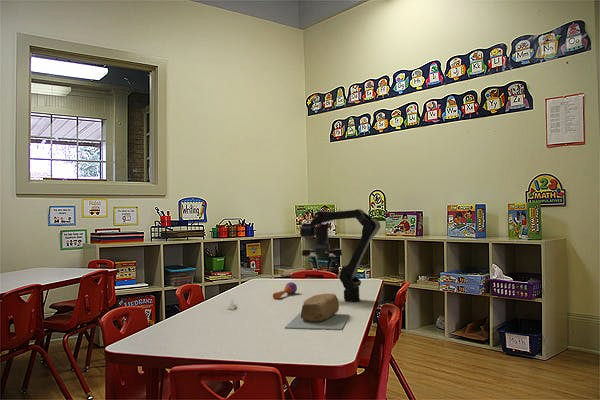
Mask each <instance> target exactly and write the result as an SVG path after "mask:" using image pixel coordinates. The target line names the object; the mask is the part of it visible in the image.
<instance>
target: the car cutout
mask: <svg viewBox="0 0 600 400" xmlns="http://www.w3.org/2000/svg"><path fill="white" fill-rule="evenodd" d="M235 308H238V304H236V303H235V301H234V298H231V299H230V302H229V306H227V307H226V309H227V310H235Z"/></svg>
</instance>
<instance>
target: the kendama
mask: <svg viewBox="0 0 600 400" xmlns="http://www.w3.org/2000/svg"><path fill="white" fill-rule="evenodd" d="M297 290H298V286H297V284H296V283H295V282H293V281H289V282H286V284H285V287H284V290H280V291H277V292H274V293H273V294H272V299H274V300H279V299H280V298H281V297H282V296H283V295H284V294H287V295H294V294H295V293H296V292H297Z"/></svg>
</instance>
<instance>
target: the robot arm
mask: <svg viewBox="0 0 600 400" xmlns="http://www.w3.org/2000/svg"><path fill="white" fill-rule="evenodd" d="M347 219H356V220H357V222H358V223H359V224H360V225H361V226H362V229H361V237H360V239H359V242H358V244H357V245H356V247H355V250H354V252H353V253H352V256H351V259H350V260H349V262H348V264H345V265H342V267H341V270H340V271H339V281H340V282H341V283H342V286H343V288H344V290H343V300H344V302H360V300H361V297H360V286H361V284H362V280H360V278H359V277H358V271H359V266H360V264H361V261H362V260H363V258H364V255H365V253H366V251H367V249H368V247H369V244H370V242H371V241H372V239H373V238H375V236H376V235H377V234H378V232H379V231H380V229H381V223H380V221H379V220H377V219H374V218H373V217H372V216H370V215H369V214H367V213H366V212H365V211H364V210H362V209H360V208H357V209H352V210H339V211H330V210H329V211H328V210H317V211H316V212H314V215H313V218H312V220H311V221H310V223H307V222H306V223H302V224H301V225H302V226H301V227H300V230H299V234H300V236H301V238H315V245H314V250H313V249H312V248H305V249H303V250H301V256H302V257H306V256H307V257H308V258H310V259H311V260H312V262H313V264H314V266H315V269H316V272H319V263H318V261H319V260H318V255H329V256H328V258H327V259H328V260H327V271H328V272H329V271H330V268H331V265H332V262H333V260H334V258H336V257H337V256H340V257H341V256H343V255H344V252H343V251H344V250H343V249H342V248H334V249H332V250H331V245H330V243H329V229H330V228H333V225H331V224H330V222H332V221H333V222H334V221H337V220H347Z"/></svg>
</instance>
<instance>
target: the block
mask: <svg viewBox="0 0 600 400" xmlns="http://www.w3.org/2000/svg"><path fill="white" fill-rule="evenodd" d="M339 301H340V300H339V298H338V297H337V295H336V294H335V293H322V294H321V293H320V294H315V295H312V296H311V297H308V298H307V299H305V300H304V301H303V304H302V306H301V311H300V314H301V318H302V319H303V320H304V321H311V322H321V321H323V320H326V319H328V318H329V317H331V316H333V315H334V314H338V313H337V312H339V309H340V302H339Z"/></svg>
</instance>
